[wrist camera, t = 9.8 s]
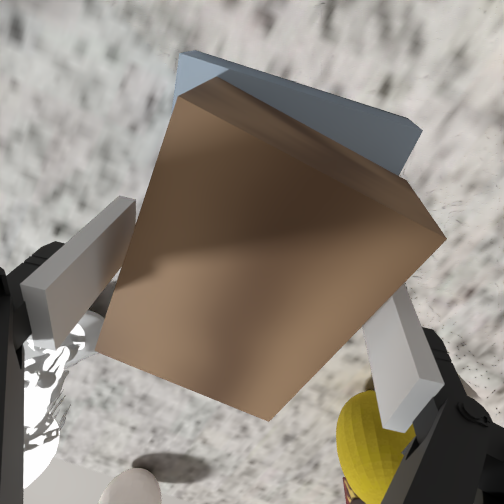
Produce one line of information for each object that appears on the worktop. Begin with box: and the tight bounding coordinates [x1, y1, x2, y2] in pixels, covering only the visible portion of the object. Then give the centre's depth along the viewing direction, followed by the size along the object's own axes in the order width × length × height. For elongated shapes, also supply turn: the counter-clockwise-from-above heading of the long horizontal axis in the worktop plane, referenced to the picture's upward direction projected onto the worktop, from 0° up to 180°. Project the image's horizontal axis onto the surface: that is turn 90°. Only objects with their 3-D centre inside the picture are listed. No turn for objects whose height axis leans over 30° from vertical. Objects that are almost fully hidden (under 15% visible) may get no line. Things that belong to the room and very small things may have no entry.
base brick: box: [171, 50, 423, 176], centre depth 19 cm, size 10×14×3 cm
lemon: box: [336, 390, 416, 504], centre depth 23 cm, size 6×6×8 cm
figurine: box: [23, 310, 105, 489], centre depth 21 cm, size 9×6×12 cm
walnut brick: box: [94, 76, 447, 421], centre depth 15 cm, size 9×12×5 cm
